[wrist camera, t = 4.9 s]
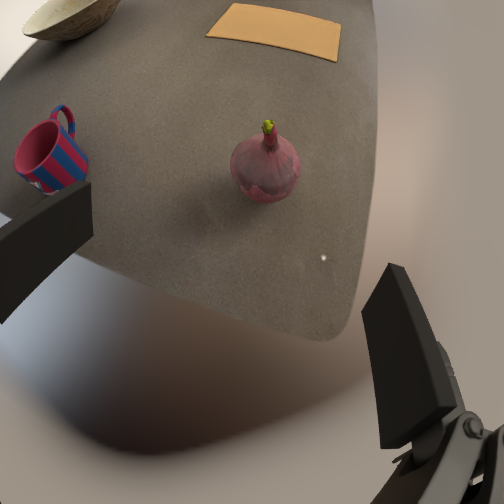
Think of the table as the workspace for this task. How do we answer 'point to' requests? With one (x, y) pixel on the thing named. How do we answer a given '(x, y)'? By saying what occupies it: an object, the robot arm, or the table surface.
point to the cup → (51, 155)
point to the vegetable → (265, 166)
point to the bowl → (68, 19)
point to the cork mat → (279, 30)
